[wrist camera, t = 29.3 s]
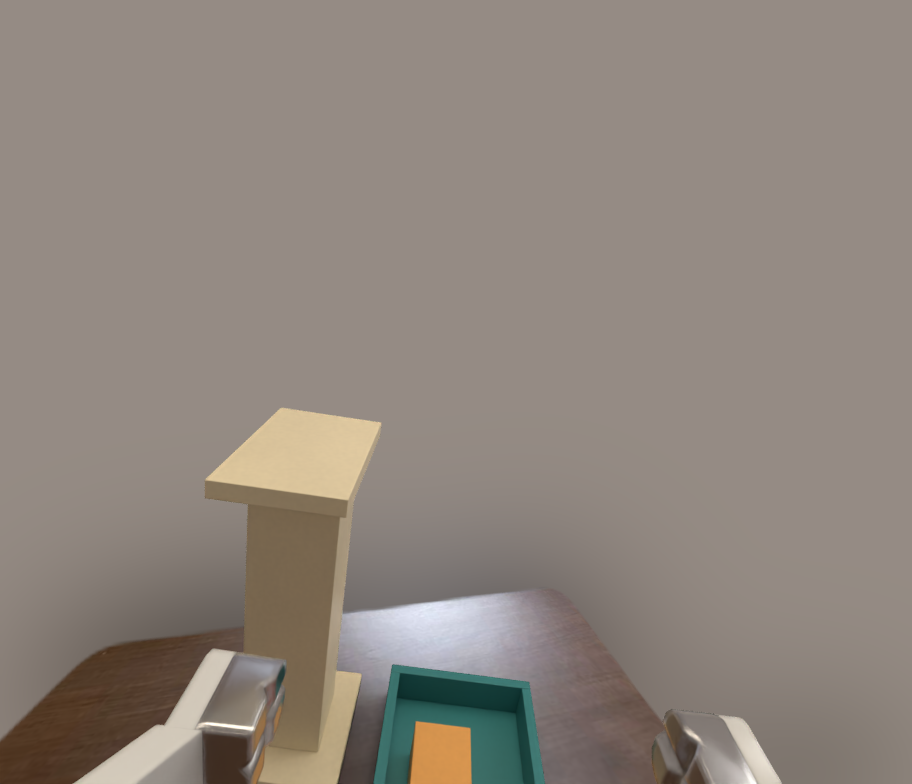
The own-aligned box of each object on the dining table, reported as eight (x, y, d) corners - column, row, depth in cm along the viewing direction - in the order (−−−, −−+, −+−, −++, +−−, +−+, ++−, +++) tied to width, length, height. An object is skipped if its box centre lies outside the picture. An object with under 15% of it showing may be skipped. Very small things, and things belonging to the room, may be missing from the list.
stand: (330, 817, 35) (366, 502, 27) (190, 800, 35) (186, 477, 27) (362, 674, 46) (394, 424, 39) (257, 660, 46) (268, 405, 38)
